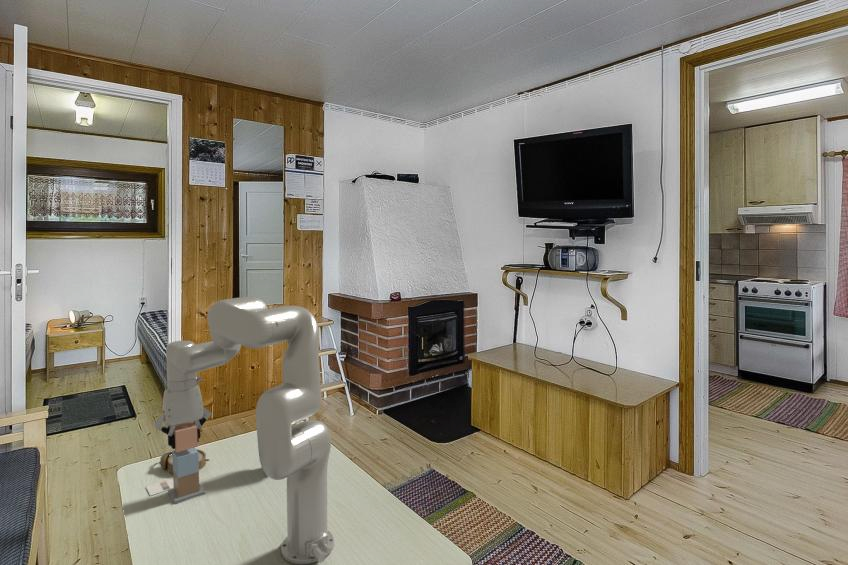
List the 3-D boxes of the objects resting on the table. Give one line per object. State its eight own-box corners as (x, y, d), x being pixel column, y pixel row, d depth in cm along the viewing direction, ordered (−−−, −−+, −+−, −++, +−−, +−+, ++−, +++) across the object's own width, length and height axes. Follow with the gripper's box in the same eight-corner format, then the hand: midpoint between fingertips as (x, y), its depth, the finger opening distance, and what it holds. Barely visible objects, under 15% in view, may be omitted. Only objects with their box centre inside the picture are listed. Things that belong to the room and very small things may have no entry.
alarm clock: (189, 469, 146) (150, 455, 149) (188, 483, 146) (149, 469, 150) (214, 453, 157) (177, 440, 160) (212, 466, 157) (175, 453, 161)
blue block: (199, 471, 136) (198, 452, 136) (178, 478, 133) (177, 457, 132) (193, 464, 140) (192, 445, 140) (173, 470, 137) (172, 451, 136)
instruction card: (183, 485, 141) (183, 484, 141) (150, 496, 135) (150, 495, 135) (178, 477, 146) (178, 476, 146) (145, 487, 140) (145, 486, 140)
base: (205, 493, 137) (204, 471, 136) (175, 503, 132) (174, 481, 131) (197, 482, 143) (196, 461, 142) (168, 492, 138) (167, 470, 137)
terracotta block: (197, 446, 136) (197, 426, 135) (176, 452, 132) (175, 432, 131) (192, 440, 140) (191, 421, 139) (171, 445, 136) (170, 425, 136)
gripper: (209, 375, 142) (211, 432, 144) (145, 386, 131) (148, 448, 133) (217, 381, 137) (219, 440, 139) (151, 393, 125) (154, 457, 127)
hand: (184, 443), depth 136 cm, fingers closed on terracotta block, 5 cm apart
